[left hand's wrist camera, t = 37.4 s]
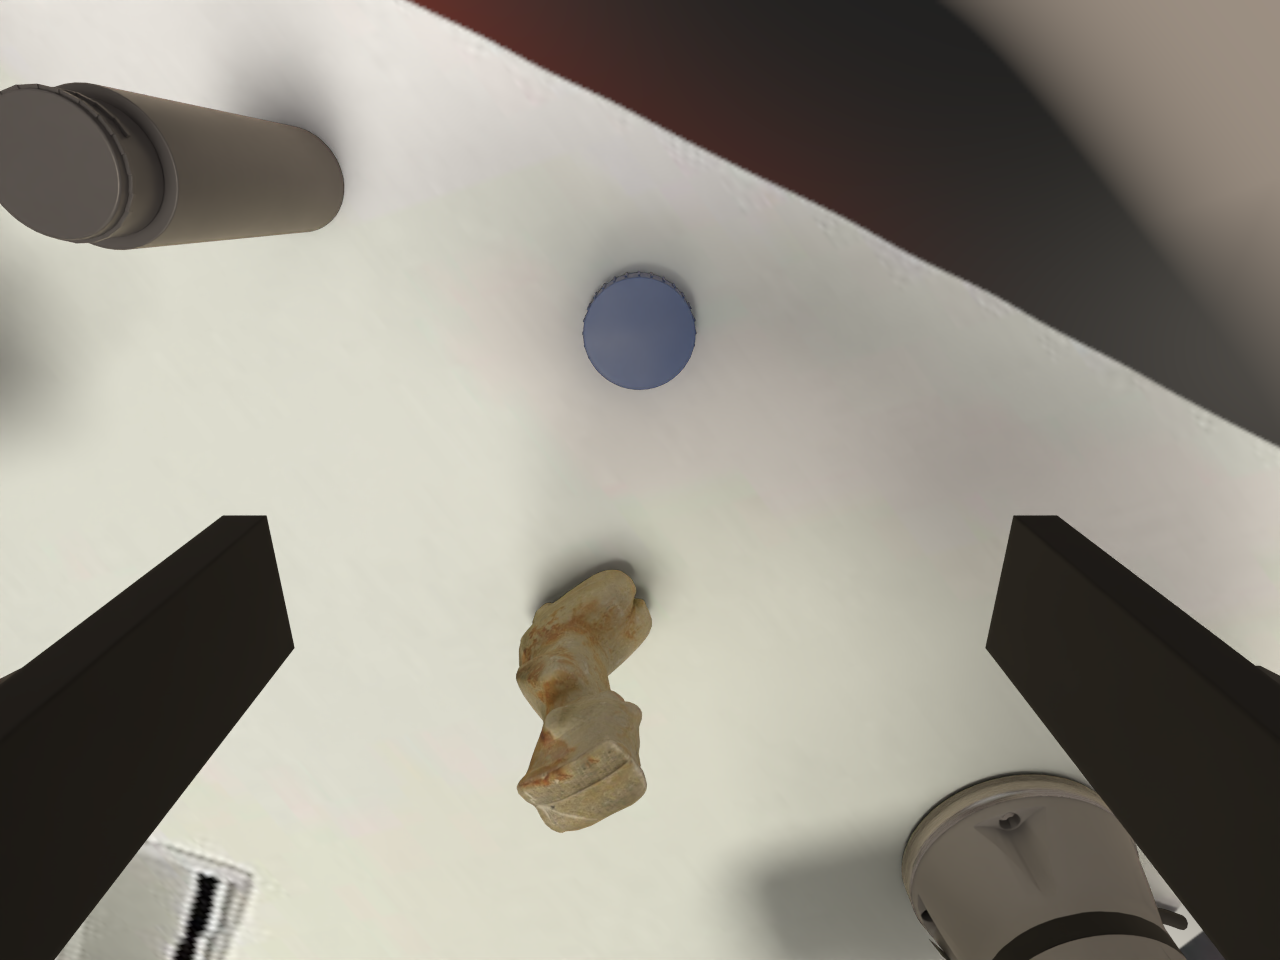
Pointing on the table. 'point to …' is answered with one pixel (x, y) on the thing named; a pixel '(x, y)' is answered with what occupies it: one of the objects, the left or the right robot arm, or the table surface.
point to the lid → (639, 331)
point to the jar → (156, 169)
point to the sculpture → (583, 703)
